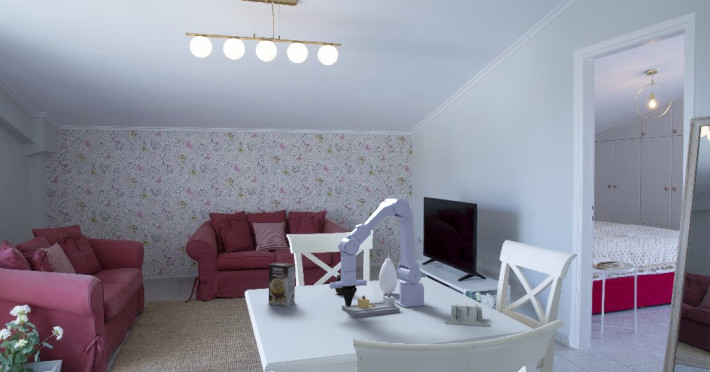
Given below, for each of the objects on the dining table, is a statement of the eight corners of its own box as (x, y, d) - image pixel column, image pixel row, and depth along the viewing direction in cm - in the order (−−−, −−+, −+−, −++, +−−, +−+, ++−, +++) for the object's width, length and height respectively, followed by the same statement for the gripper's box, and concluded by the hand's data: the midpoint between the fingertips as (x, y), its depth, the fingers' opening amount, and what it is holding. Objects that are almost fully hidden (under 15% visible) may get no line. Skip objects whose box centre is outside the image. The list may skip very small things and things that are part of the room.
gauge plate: (385, 304, 195) (385, 290, 195) (399, 312, 184) (400, 297, 184) (341, 309, 188) (342, 294, 187) (354, 317, 177) (354, 302, 176)
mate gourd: (343, 290, 217) (343, 268, 216) (354, 293, 211) (355, 271, 211) (331, 293, 212) (331, 270, 212) (342, 296, 206) (342, 273, 206)
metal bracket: (446, 299, 182) (487, 301, 179) (446, 312, 184) (486, 315, 181) (445, 321, 169) (489, 324, 166) (445, 335, 171) (489, 338, 168)
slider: (364, 304, 187) (364, 294, 187) (369, 307, 183) (369, 296, 183) (357, 305, 186) (357, 295, 186) (362, 308, 182) (362, 297, 182)
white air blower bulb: (375, 294, 210) (376, 253, 210) (384, 290, 217) (385, 250, 216) (391, 297, 206) (391, 255, 205) (400, 293, 212) (400, 252, 212)
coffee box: (267, 304, 194) (267, 264, 194) (276, 300, 200) (276, 261, 200) (287, 306, 191) (287, 266, 190) (295, 302, 197) (295, 263, 196)
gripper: (361, 266, 188) (361, 301, 189) (326, 269, 182) (326, 305, 183) (369, 270, 182) (368, 305, 182) (333, 273, 176) (333, 310, 176)
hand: (348, 305), depth 182 cm, fingers closed
